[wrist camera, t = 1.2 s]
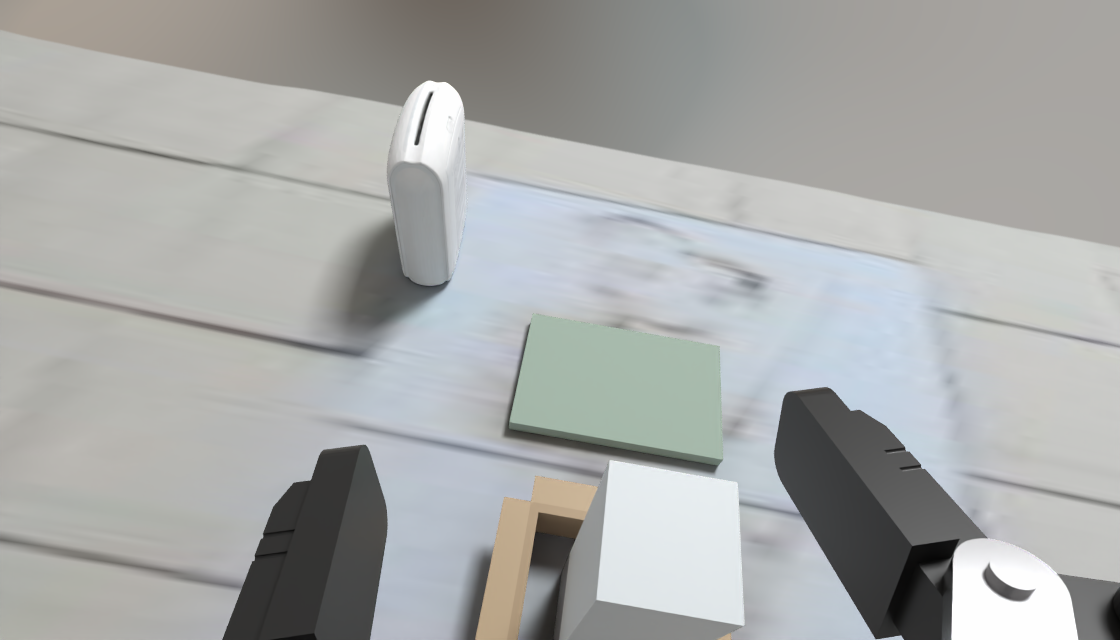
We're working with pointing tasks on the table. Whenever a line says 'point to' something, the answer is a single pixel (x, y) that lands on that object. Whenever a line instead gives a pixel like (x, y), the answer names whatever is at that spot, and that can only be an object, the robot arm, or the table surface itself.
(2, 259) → the table surface
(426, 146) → the photo printer
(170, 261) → the table surface
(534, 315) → the rubber mat
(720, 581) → the box
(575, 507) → the open carton
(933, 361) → the table surface
